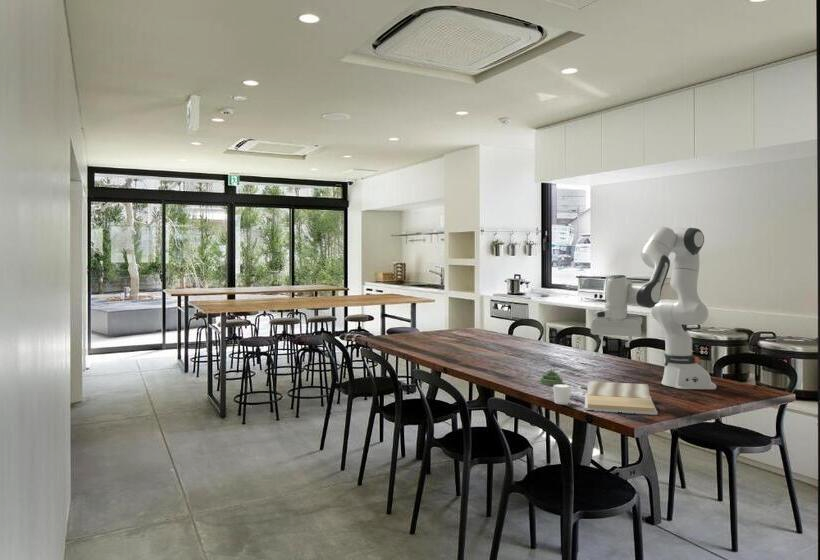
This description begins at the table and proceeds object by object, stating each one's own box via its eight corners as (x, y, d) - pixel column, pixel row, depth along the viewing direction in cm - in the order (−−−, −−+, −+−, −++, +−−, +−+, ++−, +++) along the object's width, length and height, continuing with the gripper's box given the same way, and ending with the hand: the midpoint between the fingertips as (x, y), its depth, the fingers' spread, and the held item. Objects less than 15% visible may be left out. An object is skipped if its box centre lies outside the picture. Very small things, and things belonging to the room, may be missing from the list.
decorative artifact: (566, 383, 271) (546, 380, 277) (566, 368, 271) (546, 366, 277) (556, 387, 263) (536, 384, 270) (556, 372, 263) (536, 369, 269)
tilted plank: (647, 387, 239) (648, 384, 238) (650, 401, 231) (650, 398, 230) (587, 384, 246) (587, 381, 245) (587, 398, 238) (587, 395, 237)
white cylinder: (563, 405, 230) (563, 388, 230) (549, 402, 236) (549, 385, 235) (574, 403, 234) (574, 385, 234) (560, 399, 240) (560, 383, 239)
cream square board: (650, 398, 240) (650, 392, 240) (657, 414, 215) (657, 408, 215) (585, 394, 248) (585, 389, 248) (584, 410, 223) (584, 403, 223)
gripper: (642, 314, 242) (641, 346, 242) (591, 312, 249) (590, 343, 249) (642, 315, 236) (642, 348, 236) (590, 313, 243) (590, 345, 243)
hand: (615, 346), depth 243 cm, fingers open, 8 cm apart
